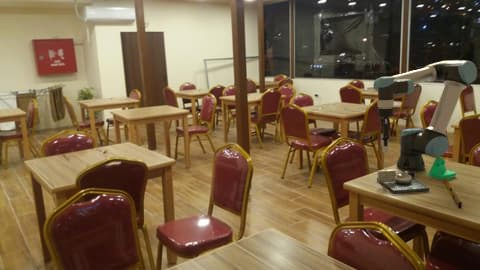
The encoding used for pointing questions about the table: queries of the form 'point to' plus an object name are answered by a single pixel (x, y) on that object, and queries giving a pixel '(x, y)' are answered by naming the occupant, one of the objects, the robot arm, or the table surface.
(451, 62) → the robot arm
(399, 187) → the stand
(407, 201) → the table surface
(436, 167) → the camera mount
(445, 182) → the spirit level
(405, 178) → the silver ladle
